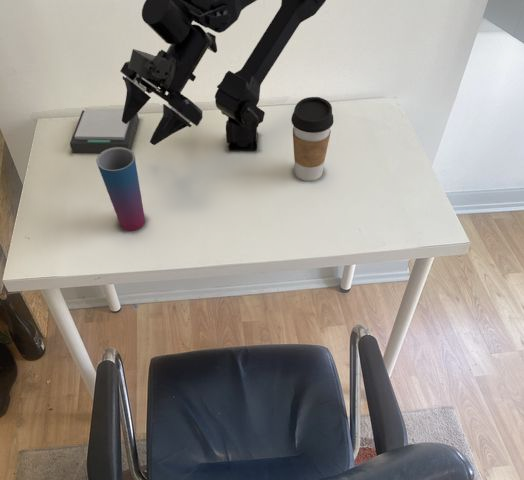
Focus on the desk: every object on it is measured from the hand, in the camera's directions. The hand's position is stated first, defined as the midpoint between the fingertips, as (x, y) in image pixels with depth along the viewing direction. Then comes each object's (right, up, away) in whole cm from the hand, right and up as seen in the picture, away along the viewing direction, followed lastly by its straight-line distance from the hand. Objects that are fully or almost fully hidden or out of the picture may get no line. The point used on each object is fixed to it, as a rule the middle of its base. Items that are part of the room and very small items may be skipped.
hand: (137, 133), depth 102 cm
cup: (-3, -15, +7) cm, 17 cm away
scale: (-13, +9, +24) cm, 28 cm away
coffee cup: (+34, -2, +16) cm, 37 cm away
